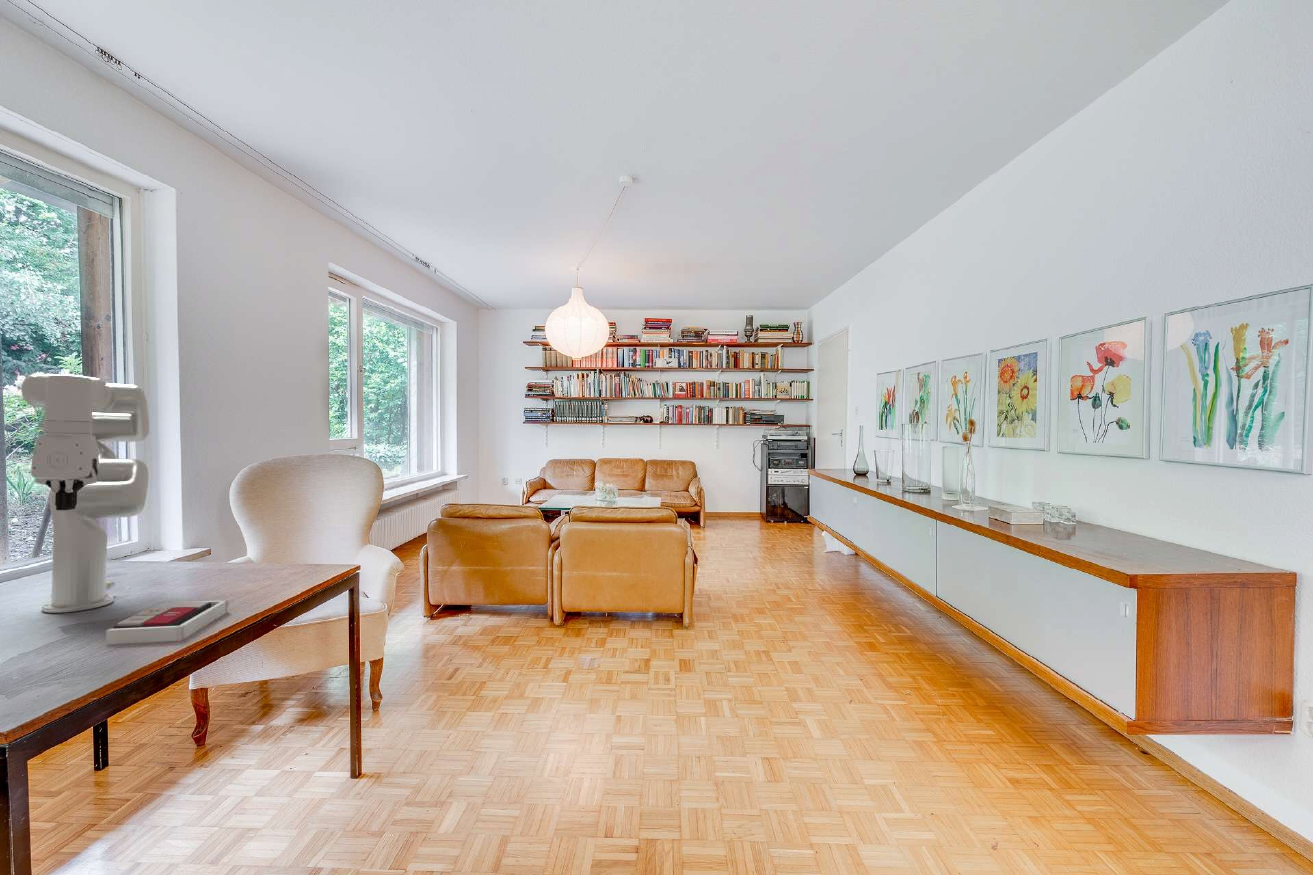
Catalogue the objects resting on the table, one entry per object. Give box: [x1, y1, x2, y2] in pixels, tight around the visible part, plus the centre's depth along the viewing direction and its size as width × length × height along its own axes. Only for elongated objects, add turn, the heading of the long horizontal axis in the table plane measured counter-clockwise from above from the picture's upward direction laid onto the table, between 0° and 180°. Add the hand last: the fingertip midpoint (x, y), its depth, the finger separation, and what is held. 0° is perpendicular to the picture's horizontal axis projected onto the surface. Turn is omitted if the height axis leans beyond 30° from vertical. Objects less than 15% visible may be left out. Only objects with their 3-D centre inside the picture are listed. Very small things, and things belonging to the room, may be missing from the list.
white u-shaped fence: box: [105, 599, 229, 645], centre depth 128 cm, size 20×14×3 cm
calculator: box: [112, 601, 211, 629], centre depth 129 cm, size 11×4×15 cm
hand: (65, 509), depth 126 cm, fingers closed
